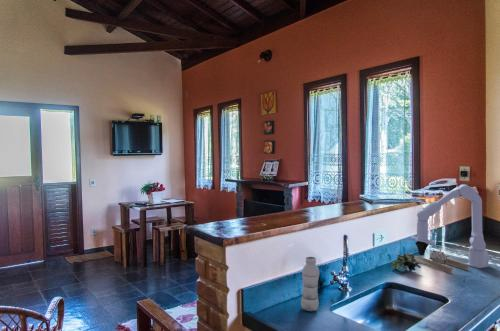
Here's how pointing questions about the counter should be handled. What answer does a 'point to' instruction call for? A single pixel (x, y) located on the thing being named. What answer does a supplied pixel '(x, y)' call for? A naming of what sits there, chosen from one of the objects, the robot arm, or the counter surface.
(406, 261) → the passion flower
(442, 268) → the chute
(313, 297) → the plastic bottle
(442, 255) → the beige textured ball
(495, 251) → the counter surface
